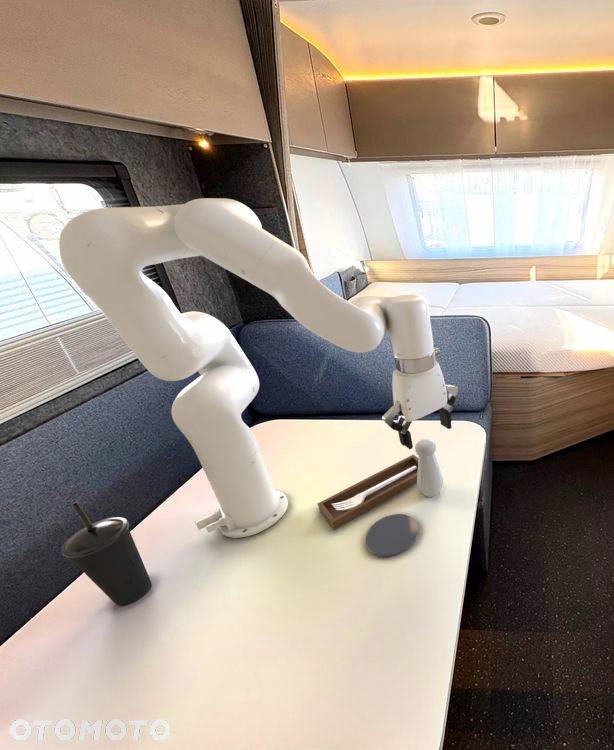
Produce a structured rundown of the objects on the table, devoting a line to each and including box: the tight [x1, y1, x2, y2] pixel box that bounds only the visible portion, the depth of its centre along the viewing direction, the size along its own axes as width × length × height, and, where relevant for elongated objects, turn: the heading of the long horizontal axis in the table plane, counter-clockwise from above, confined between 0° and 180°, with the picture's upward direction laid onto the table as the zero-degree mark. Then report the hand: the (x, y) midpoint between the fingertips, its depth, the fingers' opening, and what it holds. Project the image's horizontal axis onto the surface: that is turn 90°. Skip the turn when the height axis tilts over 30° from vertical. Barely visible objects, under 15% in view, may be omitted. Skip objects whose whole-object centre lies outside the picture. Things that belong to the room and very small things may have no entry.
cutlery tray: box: [317, 453, 419, 531], centre depth 86 cm, size 24×8×2 cm, turn 134°
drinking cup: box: [60, 502, 153, 607], centre depth 62 cm, size 8×8×20 cm
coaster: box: [365, 513, 420, 558], centre depth 75 cm, size 10×10×1 cm
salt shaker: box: [414, 438, 444, 498], centre depth 84 cm, size 6×6×13 cm
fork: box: [332, 466, 417, 510], centre depth 86 cm, size 3×20×2 cm, turn 134°
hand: (427, 436), depth 81 cm, fingers open, 9 cm apart
